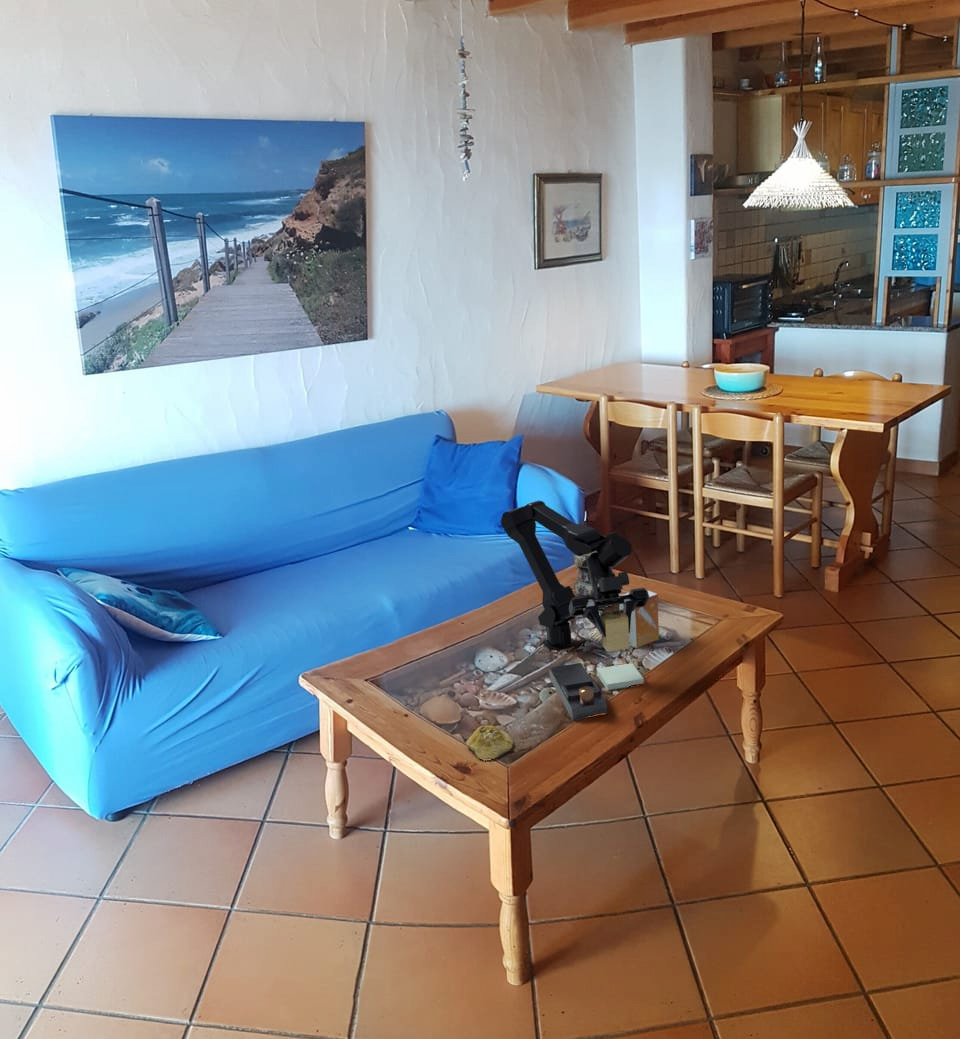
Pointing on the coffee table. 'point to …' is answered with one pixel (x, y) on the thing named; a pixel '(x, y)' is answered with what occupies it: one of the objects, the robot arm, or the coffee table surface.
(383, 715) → the coffee table surface
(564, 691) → the plane body
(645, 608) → the small box
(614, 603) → the robot arm
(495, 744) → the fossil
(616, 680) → the sage mat
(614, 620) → the lever cap
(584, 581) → the apothecary jar
